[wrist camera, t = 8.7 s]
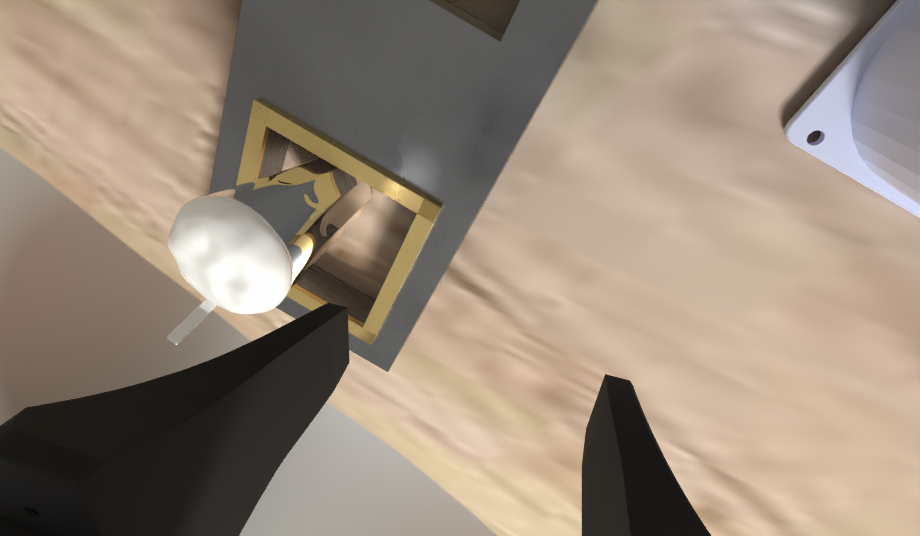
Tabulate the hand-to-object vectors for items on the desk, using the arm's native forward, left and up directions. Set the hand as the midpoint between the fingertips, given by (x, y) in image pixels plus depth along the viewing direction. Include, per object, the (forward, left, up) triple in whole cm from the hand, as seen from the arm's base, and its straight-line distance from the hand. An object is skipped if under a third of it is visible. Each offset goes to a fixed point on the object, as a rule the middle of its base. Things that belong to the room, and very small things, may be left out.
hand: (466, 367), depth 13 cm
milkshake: (+9, +4, -11) cm, 14 cm away
